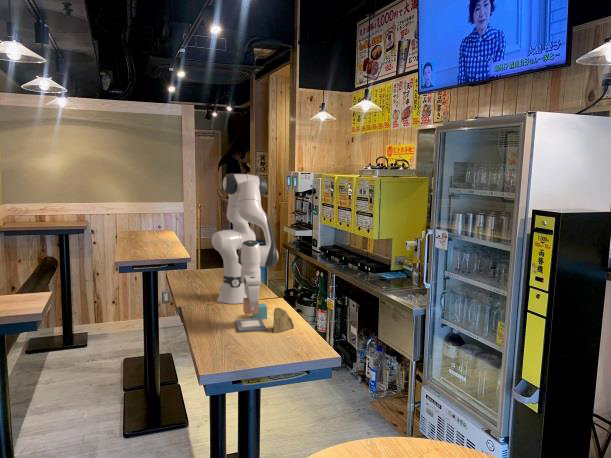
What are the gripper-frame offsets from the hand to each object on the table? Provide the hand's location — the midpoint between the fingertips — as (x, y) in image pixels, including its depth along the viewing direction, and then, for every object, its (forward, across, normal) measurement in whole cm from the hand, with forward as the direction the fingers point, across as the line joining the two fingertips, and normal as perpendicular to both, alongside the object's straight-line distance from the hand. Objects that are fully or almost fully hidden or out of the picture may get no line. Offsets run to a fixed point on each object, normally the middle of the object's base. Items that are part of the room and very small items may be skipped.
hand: (251, 307), depth 206 cm
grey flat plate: (+8, 0, 0) cm, 9 cm away
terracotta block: (+2, 0, 0) cm, 2 cm away
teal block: (+9, -12, +6) cm, 16 cm away
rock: (+9, +8, +13) cm, 18 cm away
